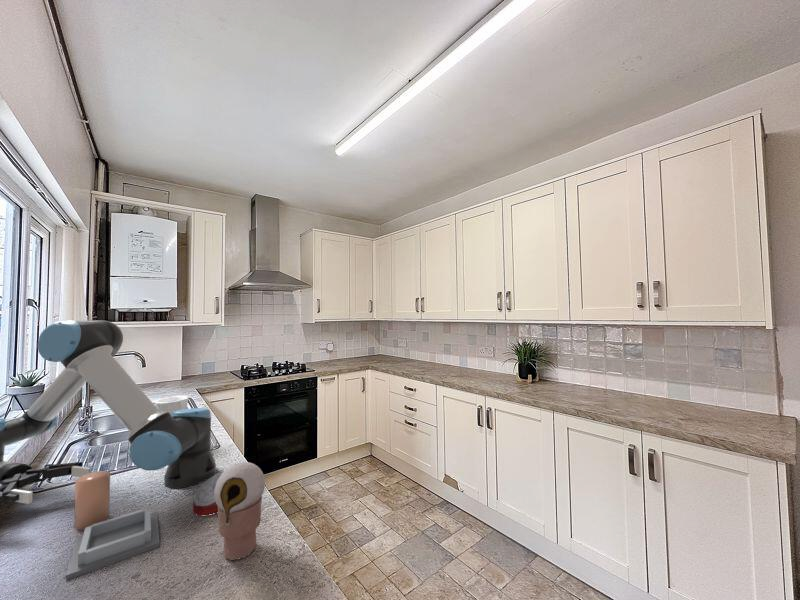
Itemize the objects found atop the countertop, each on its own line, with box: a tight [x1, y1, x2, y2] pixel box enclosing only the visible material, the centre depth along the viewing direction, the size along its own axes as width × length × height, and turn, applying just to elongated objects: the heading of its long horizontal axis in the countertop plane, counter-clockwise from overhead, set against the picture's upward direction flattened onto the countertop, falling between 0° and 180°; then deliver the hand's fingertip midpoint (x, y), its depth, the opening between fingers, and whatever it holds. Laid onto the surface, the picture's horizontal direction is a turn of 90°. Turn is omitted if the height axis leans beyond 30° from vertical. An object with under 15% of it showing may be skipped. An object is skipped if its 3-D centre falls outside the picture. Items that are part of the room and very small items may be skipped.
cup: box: [154, 395, 189, 415], centre depth 136 cm, size 12×12×22 cm
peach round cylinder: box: [73, 470, 111, 531], centre depth 90 cm, size 7×7×12 cm
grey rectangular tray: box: [65, 507, 160, 581], centre depth 81 cm, size 16×16×4 cm
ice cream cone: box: [214, 461, 266, 561], centre depth 78 cm, size 11×11×20 cm
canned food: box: [192, 471, 224, 515], centre depth 96 cm, size 11×10×10 cm
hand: (62, 484), depth 92 cm, fingers open, 13 cm apart
